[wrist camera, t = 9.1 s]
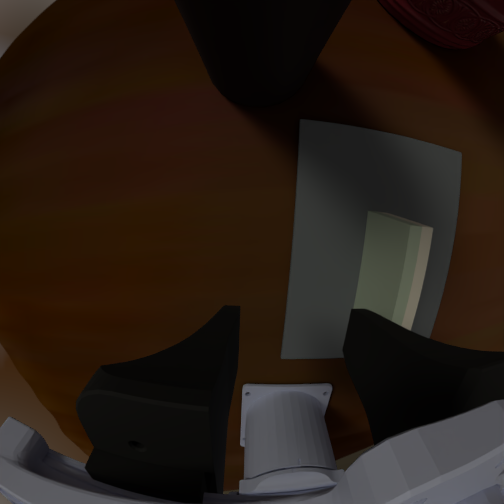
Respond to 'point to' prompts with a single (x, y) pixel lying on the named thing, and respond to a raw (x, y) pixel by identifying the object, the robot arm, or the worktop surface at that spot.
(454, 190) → the mat
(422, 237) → the tile
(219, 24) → the bottle
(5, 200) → the worktop surface
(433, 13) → the canister
